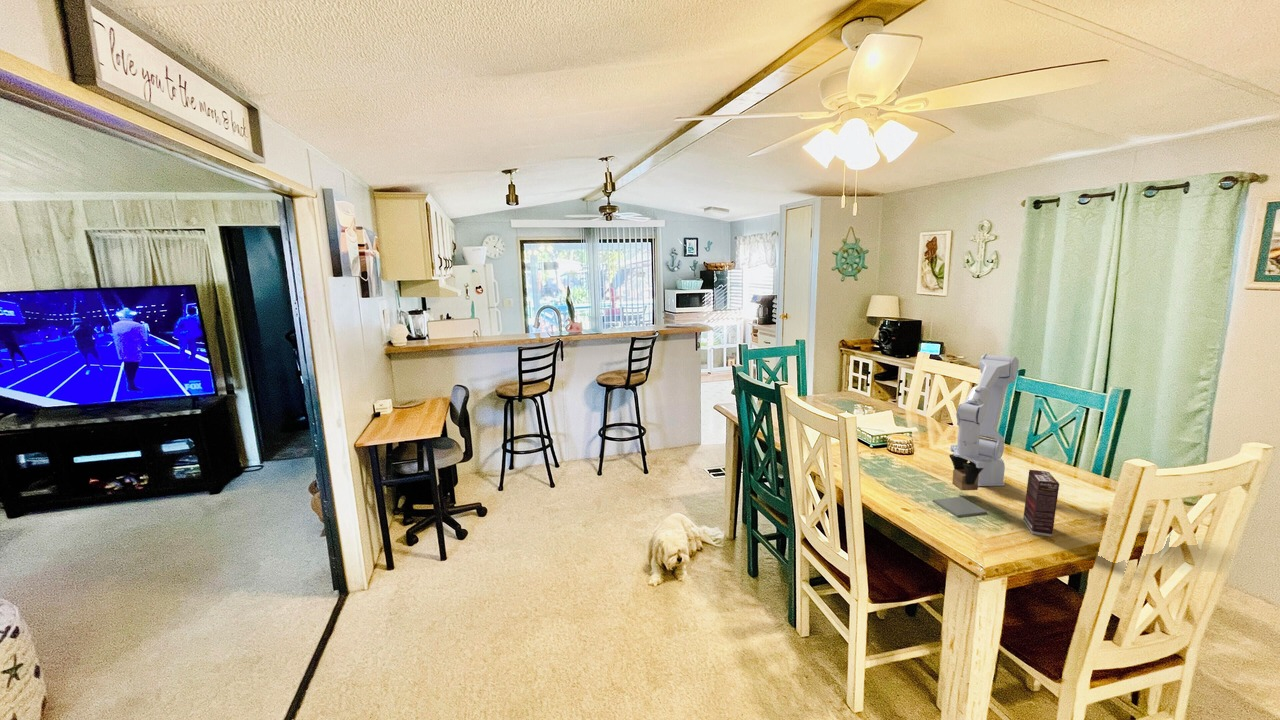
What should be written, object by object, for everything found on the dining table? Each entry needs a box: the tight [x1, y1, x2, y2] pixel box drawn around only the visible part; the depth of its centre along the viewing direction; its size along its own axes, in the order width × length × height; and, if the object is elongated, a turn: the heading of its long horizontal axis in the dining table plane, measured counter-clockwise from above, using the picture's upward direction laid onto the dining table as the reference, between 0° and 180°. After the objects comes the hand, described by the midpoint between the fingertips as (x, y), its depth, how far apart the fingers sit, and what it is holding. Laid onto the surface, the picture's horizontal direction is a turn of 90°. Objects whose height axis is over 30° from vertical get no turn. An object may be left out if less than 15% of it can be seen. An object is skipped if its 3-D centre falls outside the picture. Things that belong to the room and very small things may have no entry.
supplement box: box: [1022, 469, 1060, 538], centre depth 138 cm, size 9×5×16 cm, turn 157°
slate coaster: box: [932, 496, 988, 518], centre depth 153 cm, size 10×10×1 cm
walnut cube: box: [952, 469, 979, 491], centre depth 160 cm, size 5×5×5 cm
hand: (964, 480), depth 160 cm, fingers closed on walnut cube, 5 cm apart
